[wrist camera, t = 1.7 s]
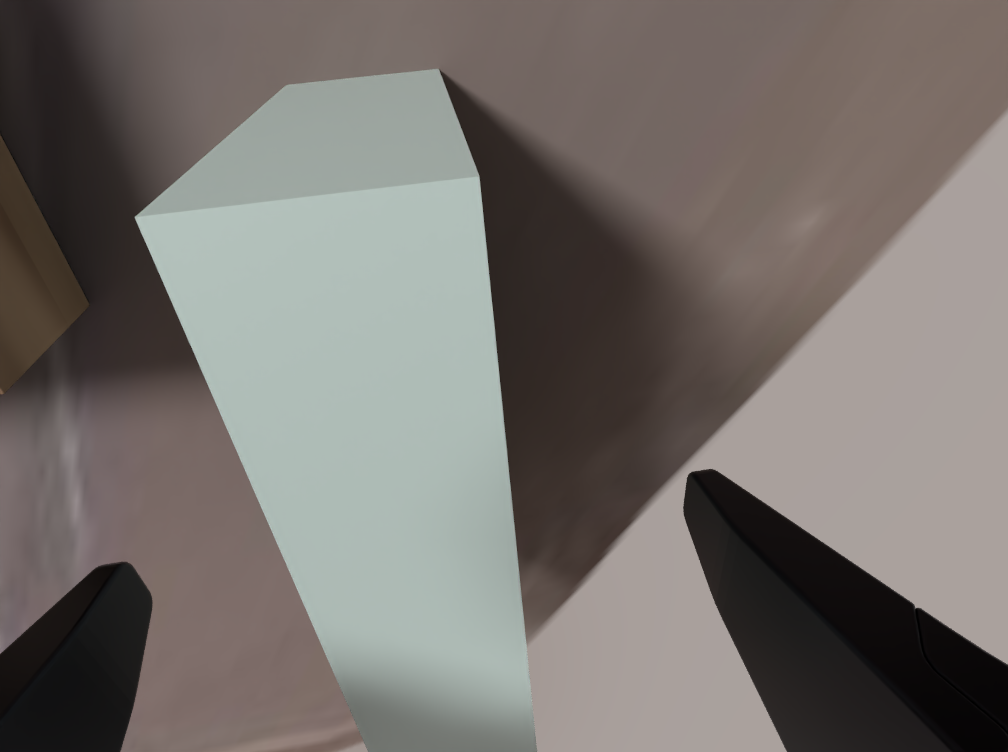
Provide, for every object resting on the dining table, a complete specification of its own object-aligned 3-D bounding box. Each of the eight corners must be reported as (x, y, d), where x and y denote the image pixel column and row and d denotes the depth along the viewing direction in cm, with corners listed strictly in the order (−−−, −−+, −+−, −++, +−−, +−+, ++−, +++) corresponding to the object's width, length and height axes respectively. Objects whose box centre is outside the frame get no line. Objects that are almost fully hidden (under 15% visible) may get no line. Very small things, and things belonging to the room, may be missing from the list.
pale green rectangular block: (438, 68, 12) (479, 176, 5) (491, 494, 19) (539, 775, 12) (286, 84, 12) (134, 216, 5) (396, 509, 18) (391, 804, 12)
